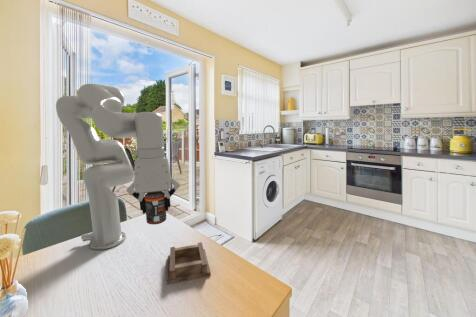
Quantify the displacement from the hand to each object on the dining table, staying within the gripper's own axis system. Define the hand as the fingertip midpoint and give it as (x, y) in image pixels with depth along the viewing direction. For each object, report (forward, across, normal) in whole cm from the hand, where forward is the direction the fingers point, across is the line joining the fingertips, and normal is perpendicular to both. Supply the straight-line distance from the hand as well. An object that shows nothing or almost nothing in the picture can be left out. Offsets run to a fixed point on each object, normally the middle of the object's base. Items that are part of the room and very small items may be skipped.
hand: (156, 210), depth 66 cm
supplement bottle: (+4, 0, 0) cm, 4 cm away
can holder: (+20, +9, -1) cm, 22 cm away
